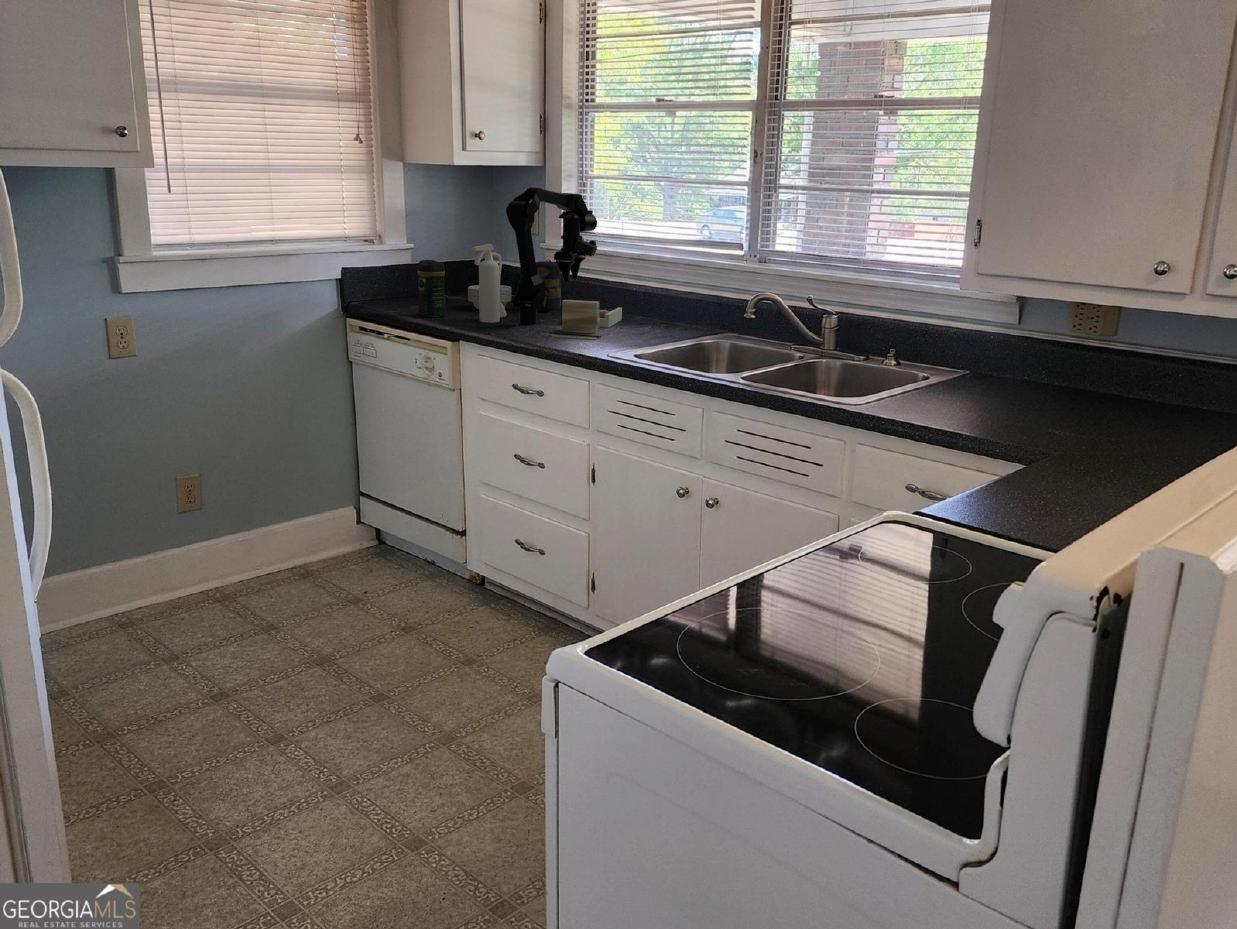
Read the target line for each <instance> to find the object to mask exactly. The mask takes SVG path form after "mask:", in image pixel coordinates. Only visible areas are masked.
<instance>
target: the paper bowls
mask: <svg viewBox="0 0 1237 929" xmlns="http://www.w3.org/2000/svg"><path fill="white" fill-rule="evenodd" d="M467 287H468V288H467V300H468V301H469V302H472V304H473V306H474V308H475V309H477V310H478V311H480V308H479V284H478V285H477V284H476V285H470V286H467ZM499 298H500V302H501V304H503V307H504V309H505V308H506V306H507V303H508V302H512V287H511V286H509V285H504V284H503V285H501V284H500V297H499Z"/></svg>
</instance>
